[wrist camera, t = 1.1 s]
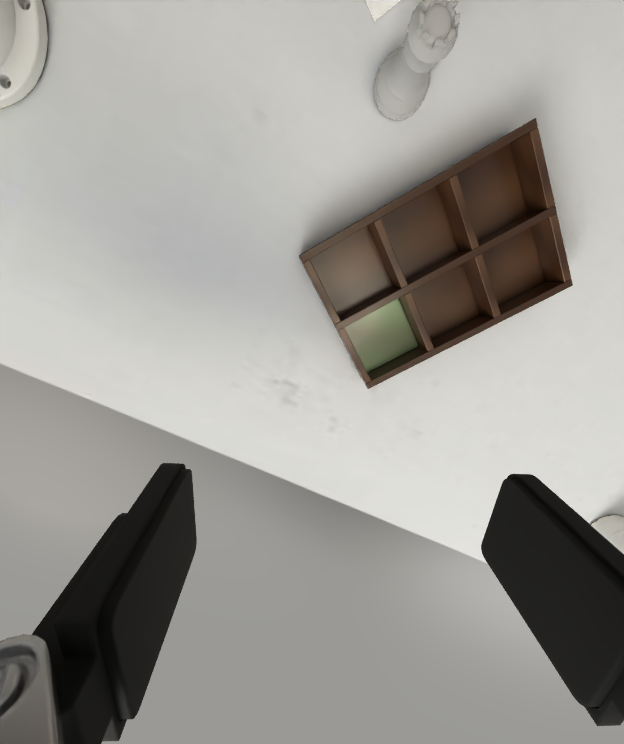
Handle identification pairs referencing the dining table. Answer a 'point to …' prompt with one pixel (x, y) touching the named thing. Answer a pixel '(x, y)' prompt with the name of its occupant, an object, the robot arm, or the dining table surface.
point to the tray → (444, 259)
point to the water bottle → (611, 530)
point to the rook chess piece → (416, 58)
